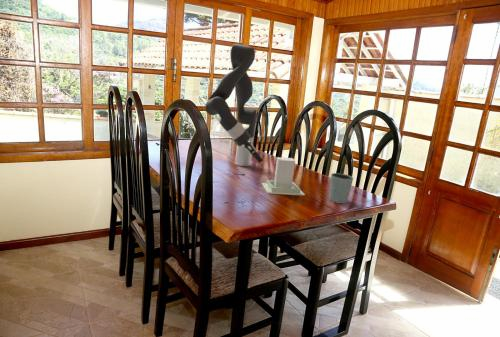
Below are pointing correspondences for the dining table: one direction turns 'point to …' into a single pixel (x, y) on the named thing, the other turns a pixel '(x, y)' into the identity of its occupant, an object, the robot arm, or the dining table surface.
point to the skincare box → (284, 172)
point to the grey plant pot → (340, 187)
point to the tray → (281, 189)
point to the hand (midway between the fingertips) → (259, 159)
